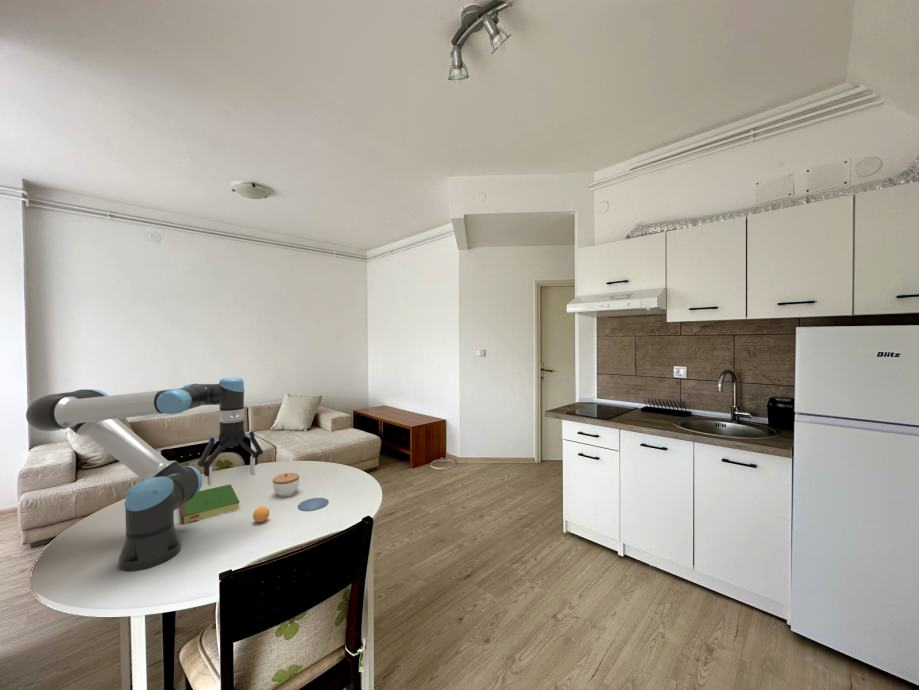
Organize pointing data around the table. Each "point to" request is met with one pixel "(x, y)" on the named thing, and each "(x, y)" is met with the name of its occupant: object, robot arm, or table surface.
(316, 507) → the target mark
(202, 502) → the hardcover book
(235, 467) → the table surface
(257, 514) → the ball
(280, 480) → the lidded jar
